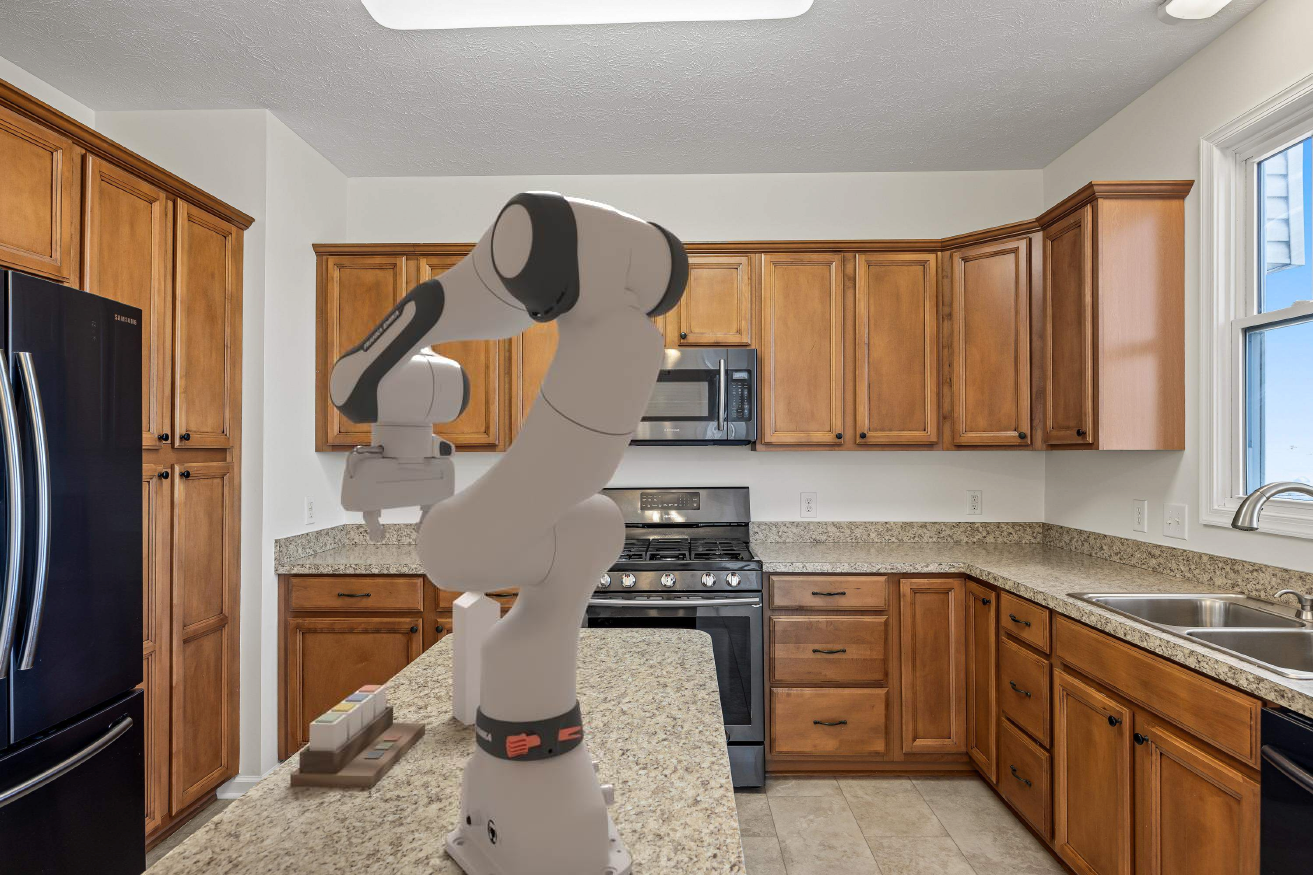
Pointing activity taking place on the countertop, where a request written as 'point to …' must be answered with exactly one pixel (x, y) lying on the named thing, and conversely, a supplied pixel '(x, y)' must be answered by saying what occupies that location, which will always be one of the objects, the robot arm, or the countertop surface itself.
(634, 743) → the countertop surface
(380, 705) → the key terracotta
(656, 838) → the countertop surface
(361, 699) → the key slate
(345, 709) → the key mustard
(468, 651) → the milk
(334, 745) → the key sage
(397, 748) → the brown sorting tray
